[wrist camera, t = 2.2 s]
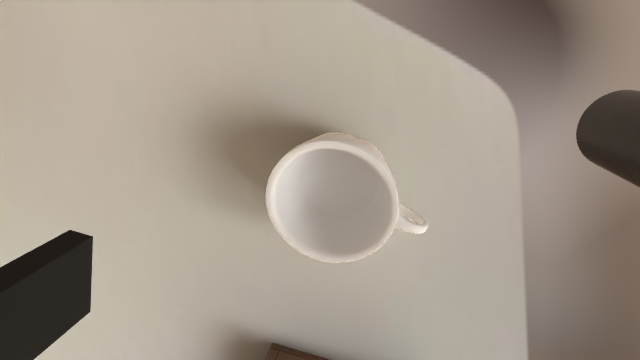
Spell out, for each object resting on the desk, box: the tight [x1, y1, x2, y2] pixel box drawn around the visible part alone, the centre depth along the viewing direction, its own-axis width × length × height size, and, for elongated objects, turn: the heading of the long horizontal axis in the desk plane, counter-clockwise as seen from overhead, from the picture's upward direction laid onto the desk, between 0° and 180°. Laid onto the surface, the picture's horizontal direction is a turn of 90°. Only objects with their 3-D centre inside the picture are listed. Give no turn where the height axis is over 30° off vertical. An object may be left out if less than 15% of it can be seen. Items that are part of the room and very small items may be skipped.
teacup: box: [266, 132, 428, 263], centre depth 26 cm, size 10×8×5 cm
